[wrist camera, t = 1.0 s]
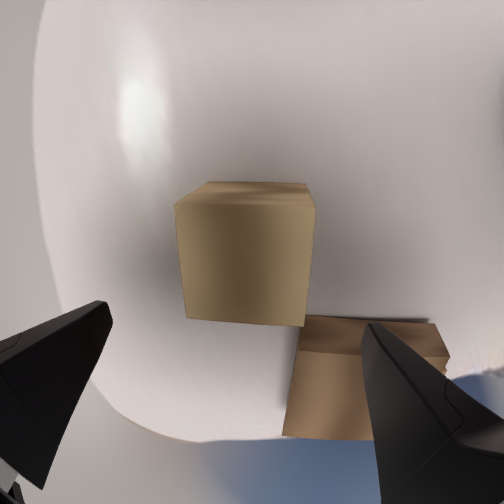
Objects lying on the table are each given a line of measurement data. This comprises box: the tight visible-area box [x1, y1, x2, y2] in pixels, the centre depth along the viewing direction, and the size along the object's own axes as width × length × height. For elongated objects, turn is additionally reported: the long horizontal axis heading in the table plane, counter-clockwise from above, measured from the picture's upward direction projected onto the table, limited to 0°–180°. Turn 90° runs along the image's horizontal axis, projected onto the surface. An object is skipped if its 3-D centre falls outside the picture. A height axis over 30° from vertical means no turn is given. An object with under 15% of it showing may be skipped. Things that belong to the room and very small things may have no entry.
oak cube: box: [174, 182, 316, 327], centre depth 16 cm, size 6×6×6 cm
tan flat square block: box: [282, 315, 450, 440], centre depth 20 cm, size 11×11×4 cm
